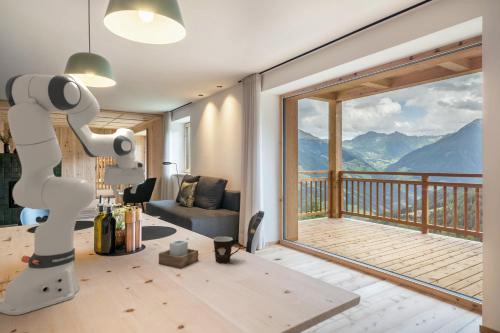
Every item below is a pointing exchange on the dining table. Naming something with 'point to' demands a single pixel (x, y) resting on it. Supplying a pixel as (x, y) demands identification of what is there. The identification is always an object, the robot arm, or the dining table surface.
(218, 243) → the coffee mug
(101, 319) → the dining table surface
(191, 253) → the brown wooden tray
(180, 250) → the grey piece
